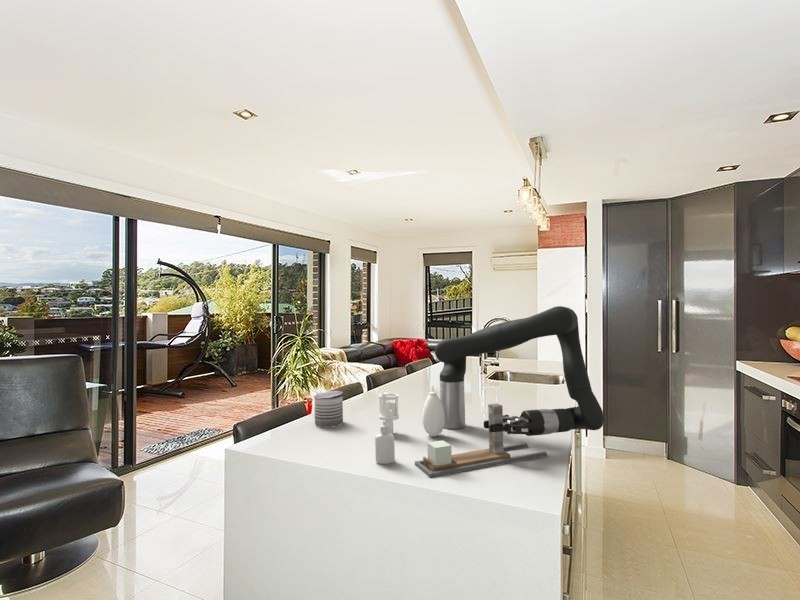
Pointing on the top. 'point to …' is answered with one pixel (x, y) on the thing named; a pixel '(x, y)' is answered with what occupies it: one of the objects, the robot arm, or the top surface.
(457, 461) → the wooden board with post
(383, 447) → the eye dropper bottle
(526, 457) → the track
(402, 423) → the top surface
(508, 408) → the top surface
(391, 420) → the white tall plastic piece
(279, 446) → the top surface
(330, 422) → the can
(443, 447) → the block
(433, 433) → the sauce bottle
